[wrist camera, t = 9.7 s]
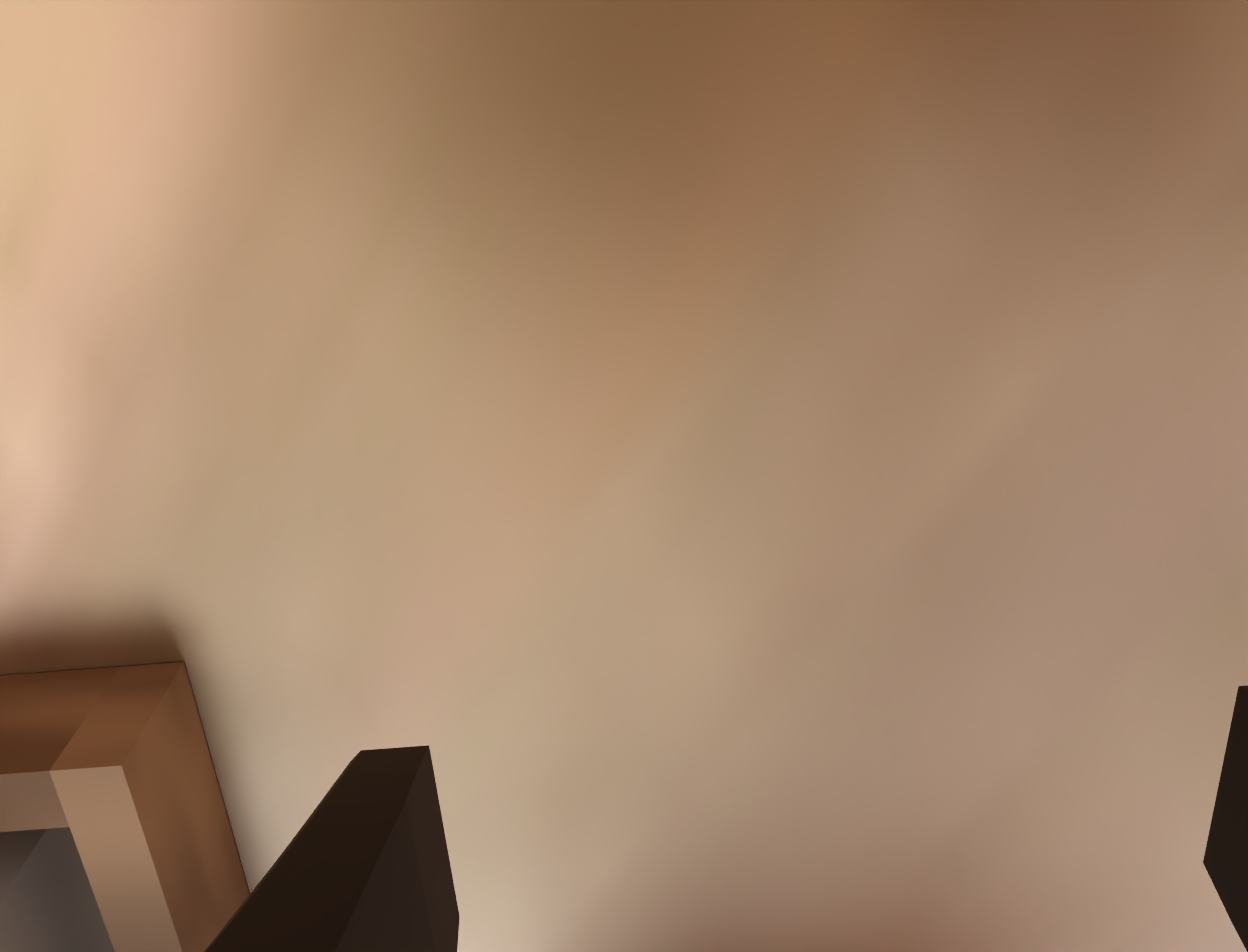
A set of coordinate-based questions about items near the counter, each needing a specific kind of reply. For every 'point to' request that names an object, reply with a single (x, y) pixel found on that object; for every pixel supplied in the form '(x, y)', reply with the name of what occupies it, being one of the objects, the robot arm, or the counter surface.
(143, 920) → the frame
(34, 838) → the slate peg
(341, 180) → the counter surface
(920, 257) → the counter surface
